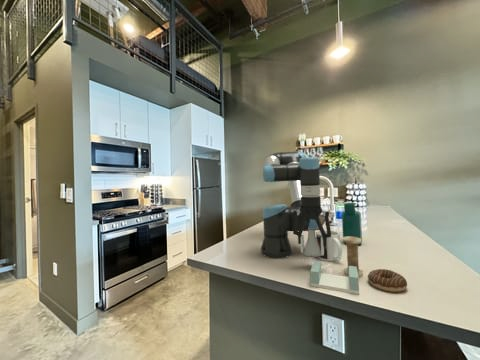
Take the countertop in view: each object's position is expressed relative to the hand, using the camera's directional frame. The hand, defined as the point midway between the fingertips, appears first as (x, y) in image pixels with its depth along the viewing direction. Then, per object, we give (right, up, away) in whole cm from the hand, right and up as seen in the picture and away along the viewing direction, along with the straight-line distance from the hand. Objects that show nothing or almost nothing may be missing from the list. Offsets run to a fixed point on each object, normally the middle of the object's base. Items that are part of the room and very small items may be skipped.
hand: (312, 252), depth 84 cm
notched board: (+3, -6, -13) cm, 15 cm away
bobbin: (+13, -5, -7) cm, 15 cm away
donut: (+19, -6, -16) cm, 25 cm away
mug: (+11, -6, +10) cm, 16 cm away
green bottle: (+31, -5, +28) cm, 43 cm away
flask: (0, -1, 0) cm, 1 cm away
